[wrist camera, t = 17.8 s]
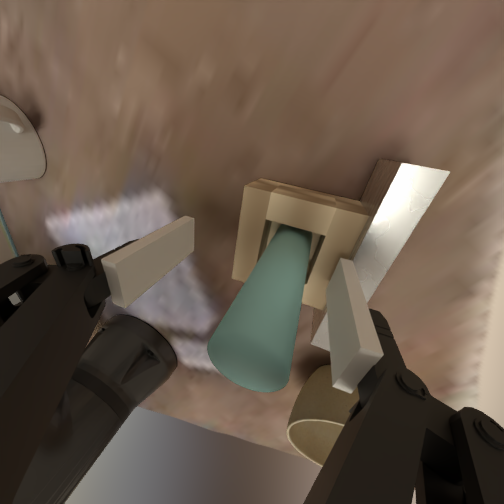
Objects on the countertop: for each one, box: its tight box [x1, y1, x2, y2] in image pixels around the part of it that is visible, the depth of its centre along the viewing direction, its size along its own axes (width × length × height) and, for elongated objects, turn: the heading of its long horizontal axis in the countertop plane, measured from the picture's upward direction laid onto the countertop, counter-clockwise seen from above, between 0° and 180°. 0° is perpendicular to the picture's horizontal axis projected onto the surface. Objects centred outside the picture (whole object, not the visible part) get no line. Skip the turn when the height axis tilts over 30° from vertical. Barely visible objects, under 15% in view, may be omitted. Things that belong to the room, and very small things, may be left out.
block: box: [232, 178, 369, 310], centre depth 16 cm, size 8×8×4 cm
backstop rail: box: [311, 159, 450, 351], centre depth 15 cm, size 2×14×5 cm, turn 171°
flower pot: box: [286, 365, 359, 467], centre depth 21 cm, size 10×10×7 cm
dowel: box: [207, 224, 312, 392], centre depth 12 cm, size 3×3×12 cm
